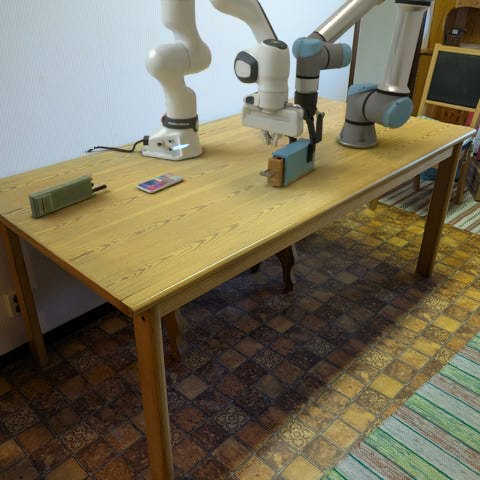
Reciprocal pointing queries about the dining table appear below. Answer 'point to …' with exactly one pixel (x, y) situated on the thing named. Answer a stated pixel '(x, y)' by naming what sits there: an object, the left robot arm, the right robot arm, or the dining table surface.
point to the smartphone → (159, 182)
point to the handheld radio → (62, 195)
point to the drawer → (275, 171)
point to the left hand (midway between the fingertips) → (270, 145)
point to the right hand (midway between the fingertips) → (301, 159)
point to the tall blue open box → (295, 160)
